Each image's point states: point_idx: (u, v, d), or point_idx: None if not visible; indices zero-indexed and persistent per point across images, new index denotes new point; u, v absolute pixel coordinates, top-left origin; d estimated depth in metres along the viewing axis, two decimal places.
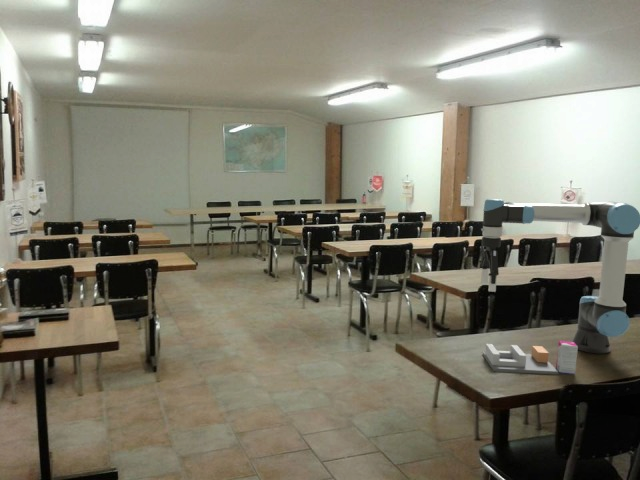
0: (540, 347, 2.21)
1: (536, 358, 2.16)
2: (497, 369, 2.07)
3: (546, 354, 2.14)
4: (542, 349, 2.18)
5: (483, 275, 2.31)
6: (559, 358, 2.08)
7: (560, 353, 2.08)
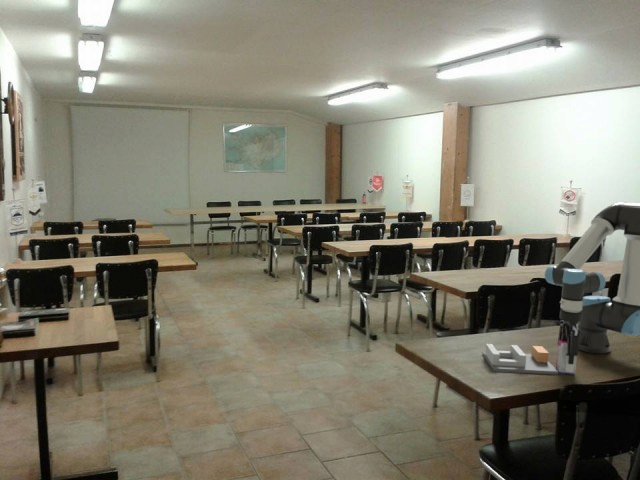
0: (540, 347, 2.21)
1: (536, 358, 2.16)
2: (497, 369, 2.07)
3: (546, 354, 2.14)
4: (542, 349, 2.18)
5: None
6: (559, 358, 2.08)
7: (560, 353, 2.07)
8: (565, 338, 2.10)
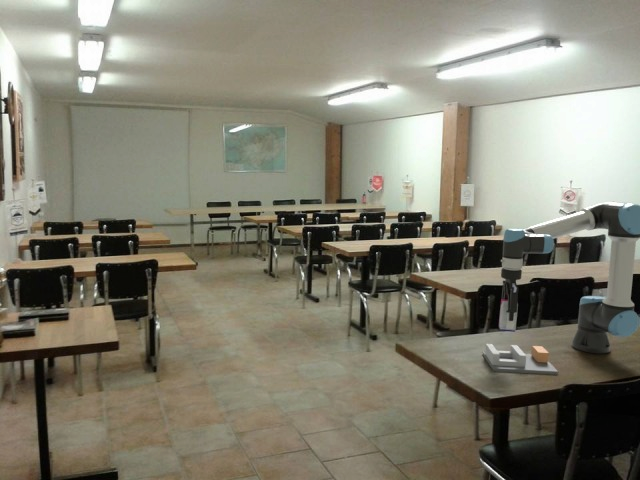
0: (540, 347, 2.21)
1: (536, 358, 2.16)
2: (497, 369, 2.07)
3: (546, 354, 2.14)
4: (542, 349, 2.18)
5: None
6: (501, 316, 2.13)
7: (501, 311, 2.13)
8: (507, 297, 2.15)
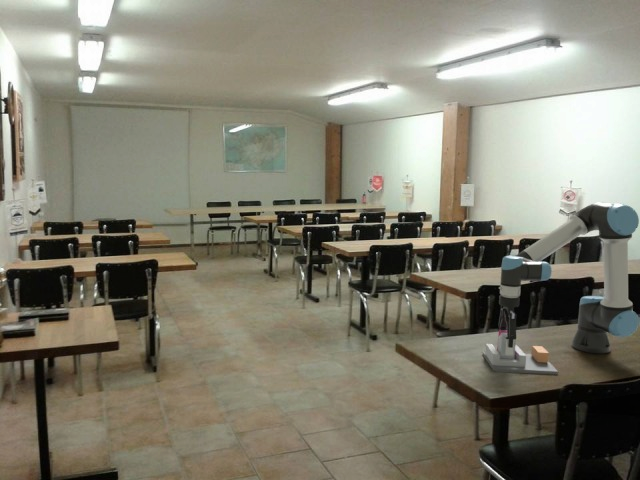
0: (540, 347, 2.21)
1: (536, 358, 2.16)
2: (497, 369, 2.07)
3: (546, 354, 2.14)
4: (542, 349, 2.18)
5: None
6: (499, 347, 2.15)
7: (500, 342, 2.15)
8: (504, 321, 2.18)
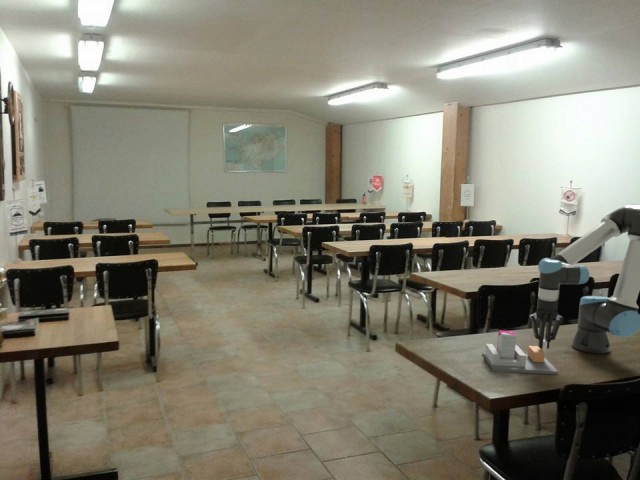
0: (536, 346, 2.21)
1: (532, 358, 2.16)
2: (497, 369, 2.07)
3: (542, 354, 2.14)
4: (538, 349, 2.18)
5: None
6: (499, 347, 2.15)
7: (500, 342, 2.15)
8: (547, 328, 2.17)
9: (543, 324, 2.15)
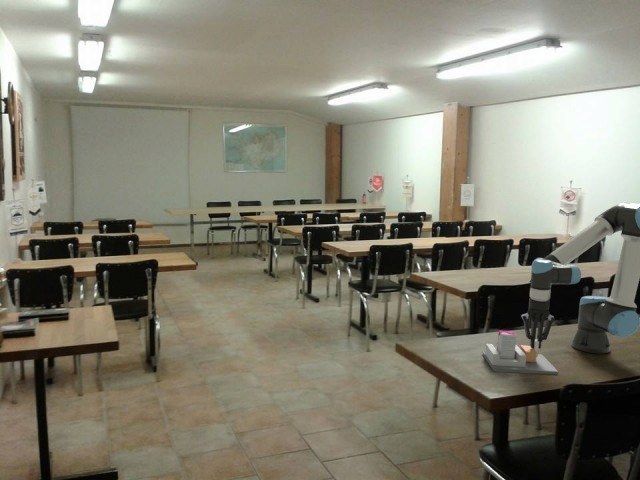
0: (528, 346, 2.21)
1: None
2: (497, 369, 2.07)
3: (534, 353, 2.14)
4: (530, 348, 2.18)
5: None
6: (499, 347, 2.15)
7: (500, 342, 2.15)
8: (538, 328, 2.17)
9: (535, 324, 2.15)
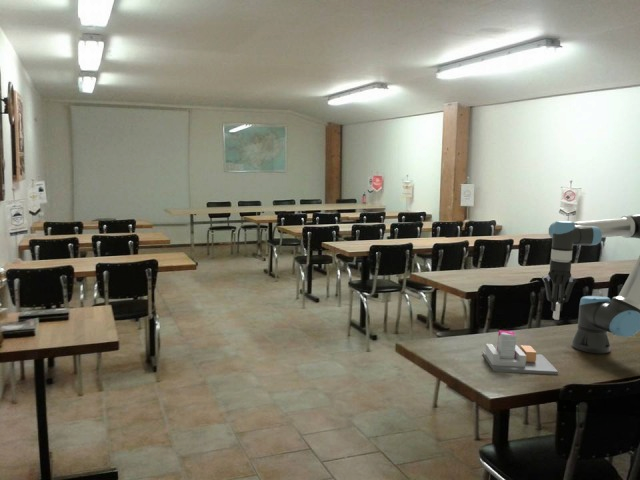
0: (528, 346, 2.21)
1: None
2: (497, 369, 2.07)
3: (534, 353, 2.14)
4: (530, 348, 2.18)
5: None
6: (499, 347, 2.15)
7: (500, 342, 2.15)
8: (559, 290, 2.14)
9: (556, 286, 2.13)
